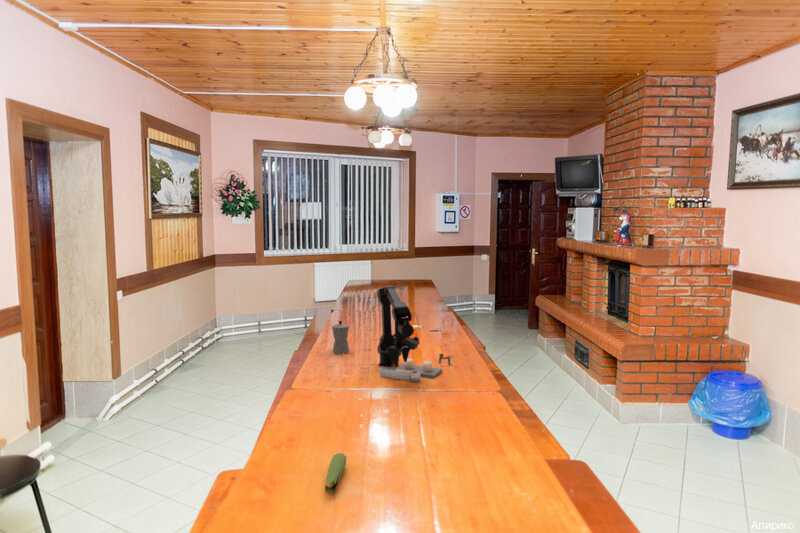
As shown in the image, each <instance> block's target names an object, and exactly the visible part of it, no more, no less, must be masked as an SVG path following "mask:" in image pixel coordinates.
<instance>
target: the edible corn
mask: <svg viewBox="0 0 800 533" xmlns="http://www.w3.org/2000/svg"><path fill="white" fill-rule="evenodd" d="M346 465H347V456H346V455H345V454H344V453H341V452H338V453H336V454H333V455H332V457H331V460H330V463H329V466H328V470H327V473H326V476H325V480H324V481H325V482H324V483H325V486H324V487H325V489H324V492H328V494H330V492H331V491H332V492H331V495H333V496H334V495H335V492H336V489H337V488H338V487H337V486H338V484H339V483H340V479H341V477H342V474H343V472H344V470H345V468H346ZM331 495H330V496H331Z"/></svg>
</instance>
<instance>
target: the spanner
mask: <svg viewBox="0 0 800 533" xmlns="http://www.w3.org/2000/svg"><path fill="white" fill-rule="evenodd" d="M396 368H397V367H395V368H394V367H390V366H389V367H388V366H382V367H380V368H379V377H380V378H387V379H395V380H401V381H406V382H407V381H408V382H411V383H420V382H421V378H422V377H420V371H410V370H403V369H396Z"/></svg>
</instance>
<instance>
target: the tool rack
mask: <svg viewBox="0 0 800 533" xmlns="http://www.w3.org/2000/svg"><path fill="white" fill-rule="evenodd" d="M403 362H404V361H403ZM395 368H396V369H403V370H410V371H420V378H429V379H435V378H437V377H438V375H441V374H442V373H443V368H439V367H438V368H437V367H433V362H432V361H429V360H427V361H423V362H422V365H418V364H416V365H415V364H414V360H413V359H412V358H407V362H404V363H403V364H401V365H400V366H399V365H398V367H395Z"/></svg>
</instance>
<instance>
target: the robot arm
mask: <svg viewBox="0 0 800 533" xmlns="http://www.w3.org/2000/svg"><path fill="white" fill-rule="evenodd" d="M376 298H377V301H378V303H379V304H380V306H381V308H380V309H381V326H382V328H381V329H382V334H381V335H380V338H379V343H378V345H377V354H379V363H378V366H382V367H389V368H390V367H391V366H393V365H394V367H395V368H398V367H399V362H400V357H401V356H402V359H403V362H407V359H409V354H410V351H412V350H413V351H414V350H416V349H418V346H419V345H420V340H419V337H418V336H415V337H411V336H413V334H414V332H415V329H414V326H413V325H412V324H411V322H412V318H413V316H412V312H411V310H410V308H409V306H408V304H406V303H405V302H404V301H402V300H401V298H400V297H399V294H398V293H397V290H396V287H395V285H386V286H384V287H382V288H380V287H379V288H378V290H376ZM391 307H392V308H391ZM392 318H393V321H394V334H392Z"/></svg>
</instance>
